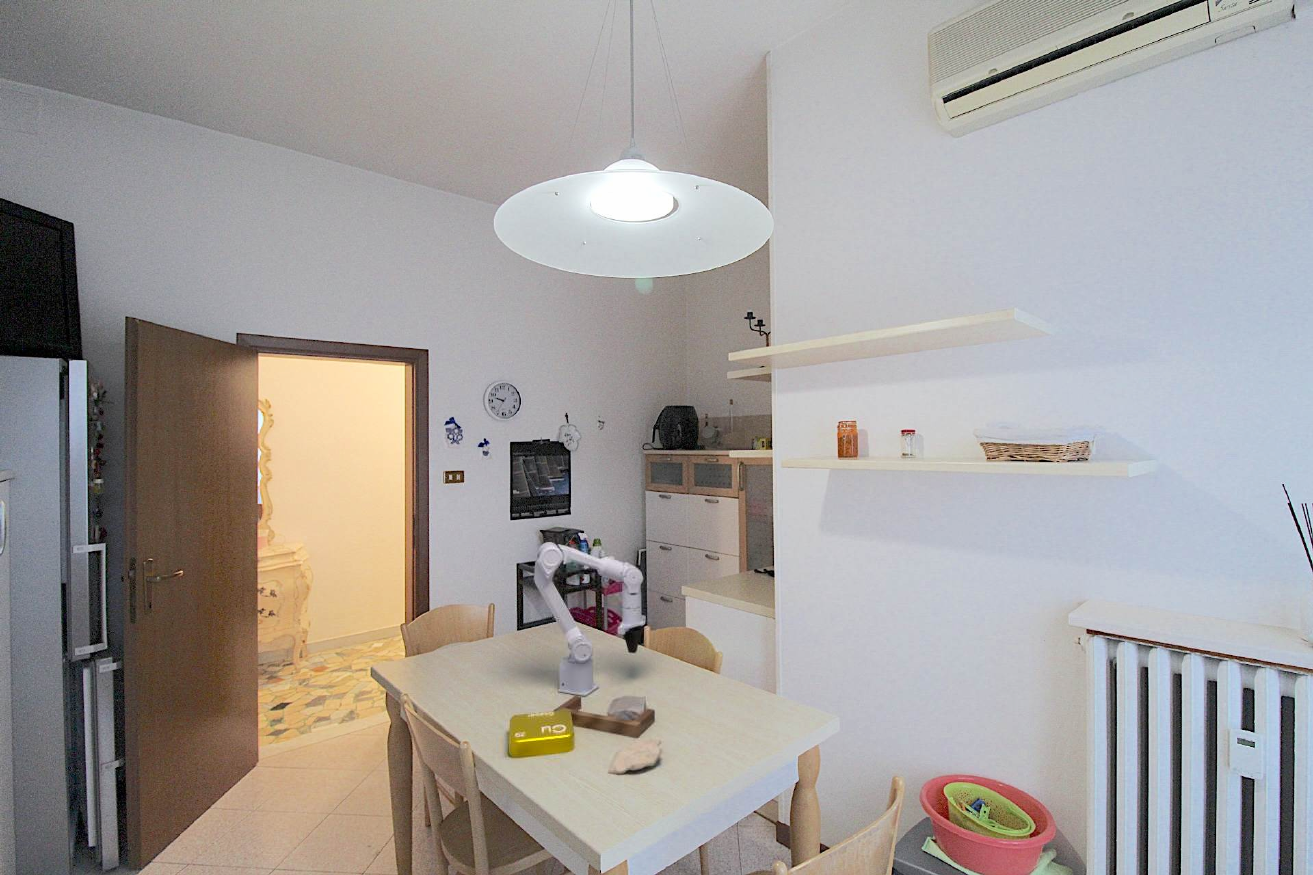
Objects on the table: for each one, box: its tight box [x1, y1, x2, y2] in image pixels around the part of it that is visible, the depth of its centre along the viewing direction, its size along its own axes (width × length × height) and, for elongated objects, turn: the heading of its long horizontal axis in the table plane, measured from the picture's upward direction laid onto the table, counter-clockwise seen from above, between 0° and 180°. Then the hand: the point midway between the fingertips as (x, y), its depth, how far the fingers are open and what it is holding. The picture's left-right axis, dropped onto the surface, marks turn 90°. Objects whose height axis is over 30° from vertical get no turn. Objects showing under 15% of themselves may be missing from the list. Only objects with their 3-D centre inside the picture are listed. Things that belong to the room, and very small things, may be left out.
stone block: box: [607, 695, 647, 721], centre depth 163 cm, size 12×5×10 cm
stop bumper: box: [553, 695, 656, 739], centre depth 160 cm, size 24×10×3 cm, turn 65°
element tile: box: [508, 710, 575, 759], centre depth 150 cm, size 15×15×5 cm
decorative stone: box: [608, 738, 663, 775], centre depth 139 cm, size 11×4×15 cm
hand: (632, 652), depth 186 cm, fingers closed
